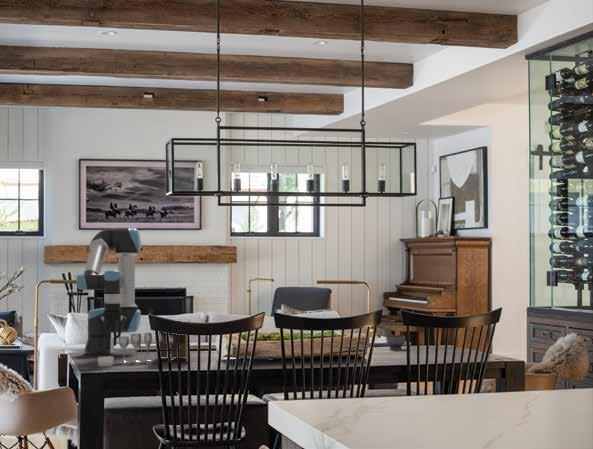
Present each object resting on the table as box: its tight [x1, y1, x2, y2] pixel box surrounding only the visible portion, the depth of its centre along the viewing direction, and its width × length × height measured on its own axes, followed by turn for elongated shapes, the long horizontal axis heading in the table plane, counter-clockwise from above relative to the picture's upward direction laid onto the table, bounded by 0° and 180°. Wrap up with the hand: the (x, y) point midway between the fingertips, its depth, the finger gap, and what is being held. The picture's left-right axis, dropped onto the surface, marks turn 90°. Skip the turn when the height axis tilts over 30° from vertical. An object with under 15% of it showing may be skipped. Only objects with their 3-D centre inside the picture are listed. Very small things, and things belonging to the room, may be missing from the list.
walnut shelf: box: [159, 318, 191, 363], centre depth 456 cm, size 20×16×19 cm
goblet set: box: [118, 332, 177, 364], centre depth 456 cm, size 28×6×13 cm, turn 109°
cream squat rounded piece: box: [97, 355, 115, 367], centre depth 440 cm, size 7×7×4 cm
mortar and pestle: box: [383, 326, 406, 351], centre depth 500 cm, size 11×9×12 cm
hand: (112, 352), depth 453 cm, fingers closed
